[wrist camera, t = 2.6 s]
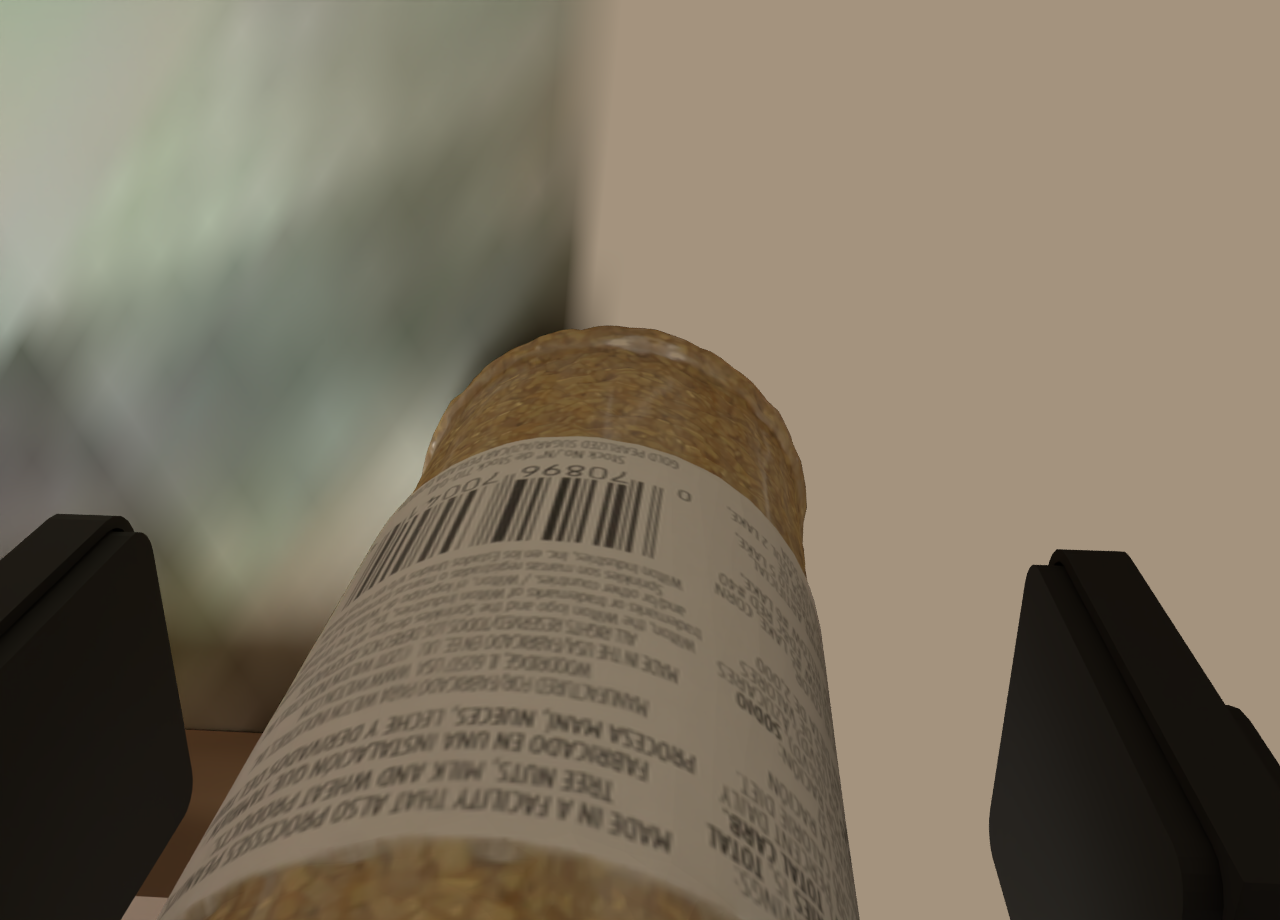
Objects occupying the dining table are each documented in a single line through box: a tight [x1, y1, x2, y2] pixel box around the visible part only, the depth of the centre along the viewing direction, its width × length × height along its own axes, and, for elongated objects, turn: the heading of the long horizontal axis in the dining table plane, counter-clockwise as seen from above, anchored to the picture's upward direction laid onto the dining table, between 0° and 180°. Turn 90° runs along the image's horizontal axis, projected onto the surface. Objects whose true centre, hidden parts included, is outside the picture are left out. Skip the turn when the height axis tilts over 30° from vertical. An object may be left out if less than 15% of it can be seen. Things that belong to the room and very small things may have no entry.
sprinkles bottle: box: [156, 326, 859, 920], centre depth 8 cm, size 5×5×13 cm
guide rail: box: [121, 730, 263, 920], centre depth 15 cm, size 2×17×3 cm, turn 90°
